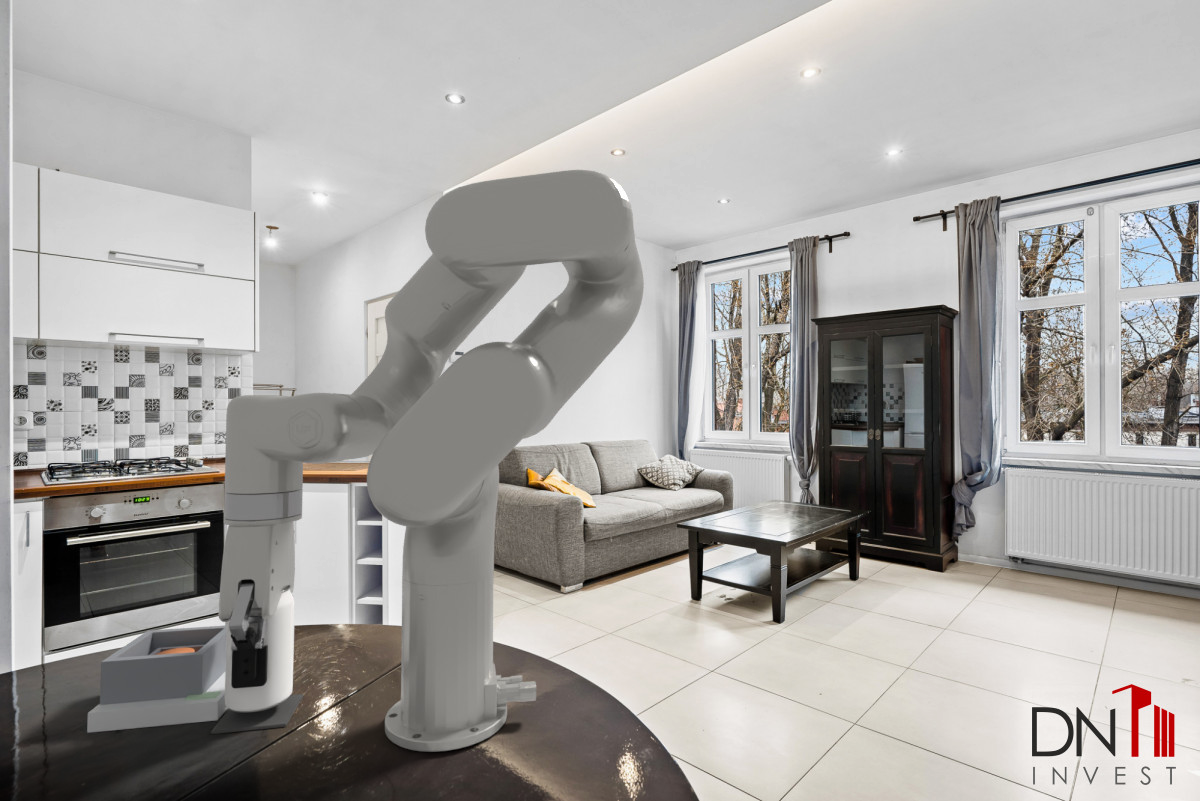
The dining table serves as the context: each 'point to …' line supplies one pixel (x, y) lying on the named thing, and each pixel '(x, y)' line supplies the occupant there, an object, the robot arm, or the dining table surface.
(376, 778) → the dining table surface
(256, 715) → the mat
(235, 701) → the can
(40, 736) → the dining table surface
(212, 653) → the box
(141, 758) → the dining table surface
